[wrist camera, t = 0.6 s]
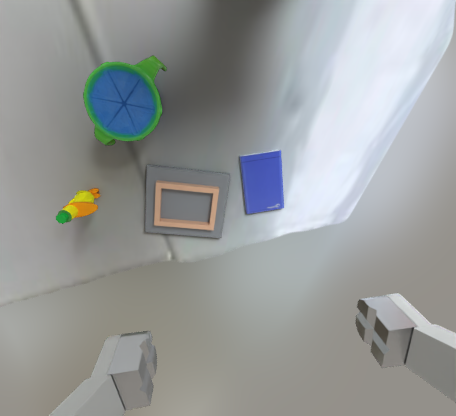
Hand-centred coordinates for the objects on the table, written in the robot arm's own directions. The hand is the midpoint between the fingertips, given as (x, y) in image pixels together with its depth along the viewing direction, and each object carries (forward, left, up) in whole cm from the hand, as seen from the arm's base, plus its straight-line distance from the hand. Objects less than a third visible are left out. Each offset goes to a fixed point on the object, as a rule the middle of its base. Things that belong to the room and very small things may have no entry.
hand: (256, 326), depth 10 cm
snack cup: (-6, -14, -44) cm, 46 cm away
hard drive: (+7, +11, -45) cm, 46 cm away
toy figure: (+12, -22, -44) cm, 51 cm away
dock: (+12, -4, -44) cm, 46 cm away
